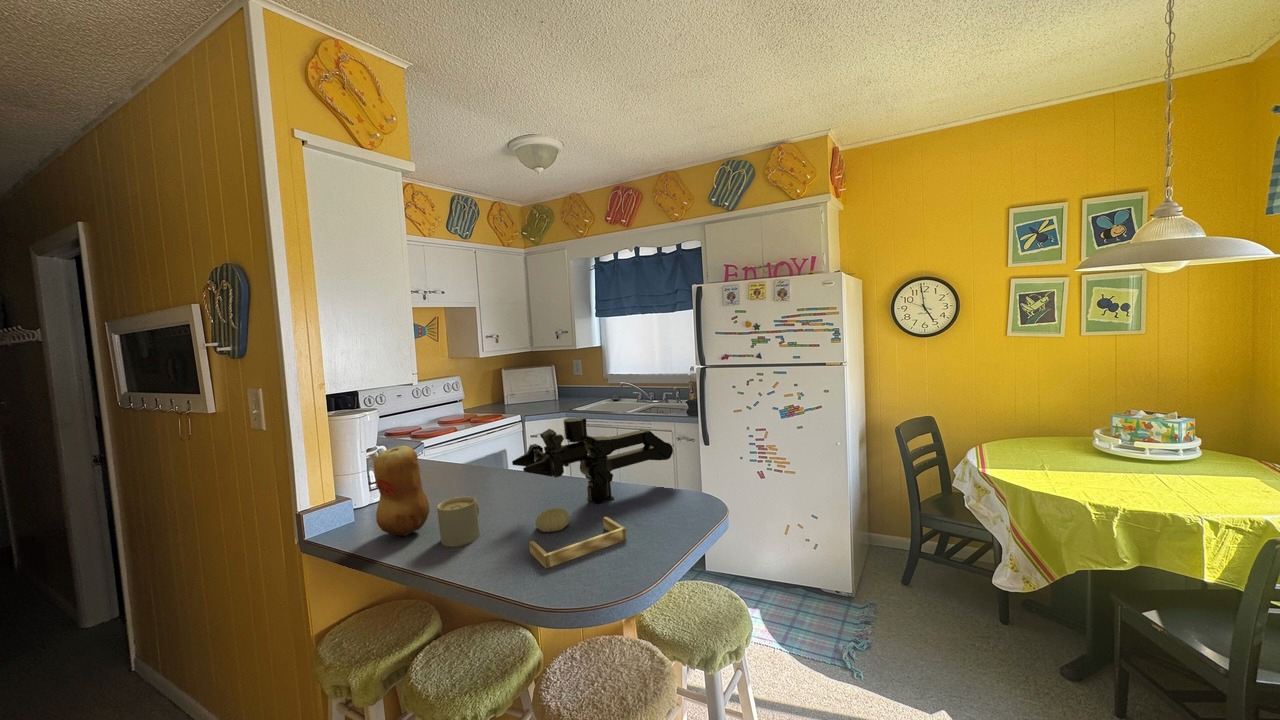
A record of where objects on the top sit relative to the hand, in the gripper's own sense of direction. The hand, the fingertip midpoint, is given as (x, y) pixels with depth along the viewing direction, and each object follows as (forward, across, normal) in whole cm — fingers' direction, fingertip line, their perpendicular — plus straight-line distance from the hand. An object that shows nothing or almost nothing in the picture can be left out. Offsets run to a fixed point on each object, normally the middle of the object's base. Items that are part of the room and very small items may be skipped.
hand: (517, 466), depth 144 cm
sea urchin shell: (-5, +9, +17) cm, 20 cm away
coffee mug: (+16, -3, +17) cm, 23 cm away
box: (-5, +25, +17) cm, 30 cm away
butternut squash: (+29, -17, +17) cm, 37 cm away
